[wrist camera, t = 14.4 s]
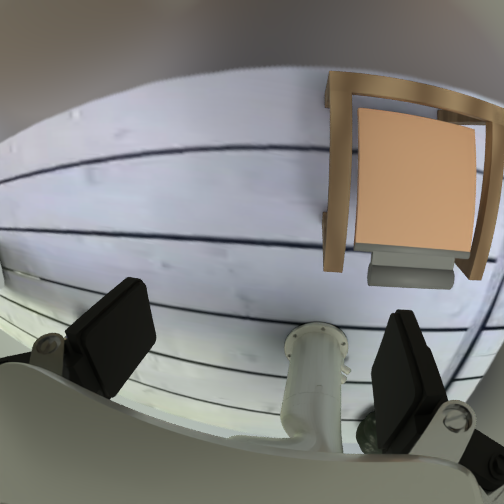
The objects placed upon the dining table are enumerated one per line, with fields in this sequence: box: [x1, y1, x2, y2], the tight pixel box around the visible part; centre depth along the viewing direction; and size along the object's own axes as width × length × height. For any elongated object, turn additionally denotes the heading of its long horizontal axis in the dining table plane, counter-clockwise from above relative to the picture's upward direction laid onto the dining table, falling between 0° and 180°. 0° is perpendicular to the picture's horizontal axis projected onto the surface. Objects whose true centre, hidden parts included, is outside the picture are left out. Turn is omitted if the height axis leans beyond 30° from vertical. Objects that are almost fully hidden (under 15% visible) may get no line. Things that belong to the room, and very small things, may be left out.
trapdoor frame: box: [322, 71, 504, 280], centre depth 30 cm, size 20×20×16 cm
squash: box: [356, 412, 382, 454], centre depth 53 cm, size 14×15×15 cm
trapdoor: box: [354, 108, 476, 290], centre depth 25 cm, size 14×18×2 cm
